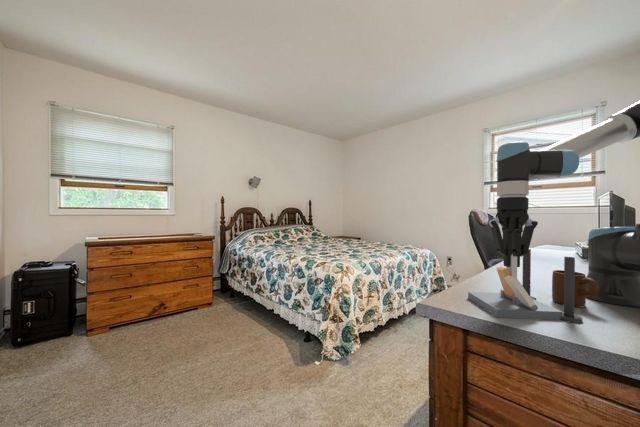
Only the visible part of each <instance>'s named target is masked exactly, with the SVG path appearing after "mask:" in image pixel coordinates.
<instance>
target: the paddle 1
mask: <svg viewBox="0 0 640 427" xmlns="http://www.w3.org/2000/svg"><path fill="white" fill-rule="evenodd" d="M496 271H497V275H498V277H499V281H500V283H501V286H502V290H504V293H505V296H506V297H507V298H509V299H511V300H513V295H516V294H515V293H514V292H513V290H512V289H511V287H510V286H509V285H508V283H507V282H506V280H505V279H504V278H505V277H506V276H508V275H509V276H511V275H510V272H509V269H506V267H504V266H499V267H496Z"/></svg>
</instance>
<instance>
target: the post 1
mask: <svg viewBox="0 0 640 427" xmlns="http://www.w3.org/2000/svg"><path fill="white" fill-rule="evenodd" d="M531 252H532V250H531V248H529V250H528V253H527V254H523V256H522V282H521V285H522V286H523V288H524V289H525V290H526V292H527V293H528V295H529V296H530V297H531V298H532V299H534V300H536V301H537V298H536V297H534V296H531V266H532V265H531V264H532V263H531V261H532V258H531V257H532V256H531V255H532V253H531Z"/></svg>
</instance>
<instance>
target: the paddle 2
mask: <svg viewBox="0 0 640 427" xmlns="http://www.w3.org/2000/svg"><path fill="white" fill-rule="evenodd" d="M504 279H505V280H506V282H507V283H508V285H509V286H510V287H511V289H512V290H513V292H514V293H515V294H516V296H517V297H518V299H519V300H520V301H521V303H522V305H523V306H525V307H527V308H529V309H531V310H533V311H536V310H537V309H538V307H537V305H535V303H534V302H533V300H532V299H531V297H530V296H531V295H530V296H529V295H528V293H527V292H526V290H525V289H524V288H523V286H522V282H520V281H519V279H518V277H517V278H514V277H512V276H509V275H508V276H506V277H505V278H504Z"/></svg>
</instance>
